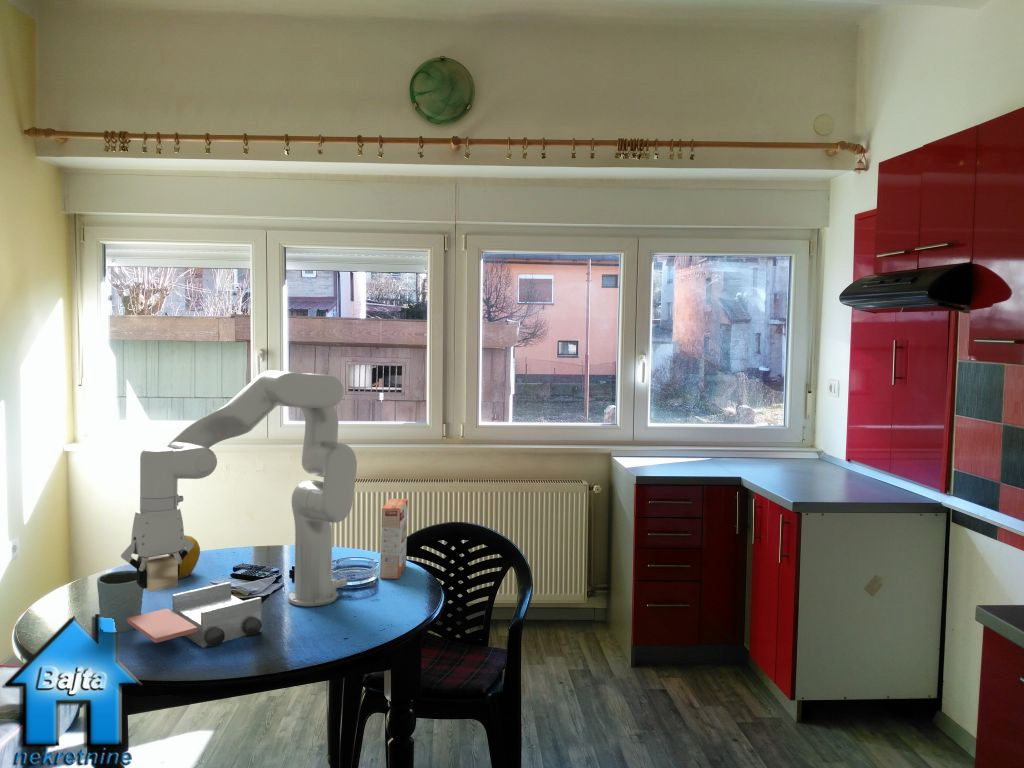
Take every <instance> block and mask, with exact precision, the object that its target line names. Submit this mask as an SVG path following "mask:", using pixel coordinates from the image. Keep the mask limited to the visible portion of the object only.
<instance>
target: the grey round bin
mask: <svg viewBox="0 0 1024 768" xmlns="http://www.w3.org/2000/svg"><path fill="white" fill-rule="evenodd" d="M96 584H97V585H96V586H97V594H98V608H99V610H98V611H99V618H100V617H104V618H112V619H114V622H115V628H116V631H117V632H120V633H125V632H130V631H133V630H136V629H135V628H134V627H133V626H131V625H130V624H129V623H127V618H129V617H133V616H138V615H142V609H143V608H142V607H143V597H144V590H145V589H143V588H141V587H140V586H139V585H138V584H137V570H119V571H118V570H117V571H111V572H108V573H107V572H106V573H103V574H102V575H99V576H98V577H97V579H96Z"/></svg>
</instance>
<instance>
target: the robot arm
mask: <svg viewBox="0 0 1024 768" xmlns="http://www.w3.org/2000/svg"><path fill="white" fill-rule="evenodd" d="M344 394H345V389H344V386H343V383H342V381H341V380H340V379H339V378H337V377H336V376H334V375H331V374H322V373H321V374H320V373H310V372H303V373H300V372H293V371H292V372H291V371H284V370H283V371H282V370H266V371H264V372H261V373H260V374H259V375H257V376H256V377H255V378H254V379H253V380H251V381H250V382H249V383H248V384H247V385H245V387H244V388H243V389H241V391H240V392H238V393H237V394H236V395H235V396H234V397H232V398H231V400H229V401H228V402H227V403H226V404H225V405H223V406H222V407H221V408H219V409H216V410H214V411H212V412H211V413H208V414H207V415H205V416H204V417H202V418H200V419H199V420H196V421H195V422H194V423H192V424H190V425H189V426H188V427H186V428H185V429H184V430H183V431H181V432H180V433H179V434H178V435H177V436H176V437H175V438H174V439H173V440H172V441H170V442H169V444H168V445H167V446H166V447H165V446H158V447H148V448H145V449H143V450H142V452H141V453H140V457H139V466H140V467H139V510H136V511H135V513H134V518H133V523H132V529H131V530H132V531H131V540H130V542H131V543H130V544H129V545H128V546H127V547H126V549H124V551H123V552H122V553H121V554H120V557H121V559H123V560H124V561H125V562H127V563H128V564H129V565H131V566H132V567H133V568H135V569H136V571H137V584H138V585H139V586H140V587H141V588H143V589H144V590H146V589H145V588H147V571H146V570H145V567H146V564H147V562H148V559H149V557H154V556H160V555H165V554H169V555H170V556H172V557H174V558H176V559H178V577H179V575H180V564H181V563H182V560H183V559H184V557H185V556H186V555H187V554H188V552H189V551H190V550H191V549H192V548H193V547H194V544H193V543H192V542H191V541H190V540H189V539H188V538H186V537H185V536H184V535H185V531H184V520H183V515H182V510H181V508H180V507H179V503H181V502H184V496H183V495H179V494H178V487H179V486H178V485H179V484H178V480H179V479H181V480H182V479H184V480H185V479H187V480H188V479H189V480H199V479H203V478H206V477H207V478H208V477H209V476H210V475H212V474H213V472H214V471H215V470H216V468H217V464H218V458H217V455H216V454H215V452H214V451H213V450H212V449H210V448H211V447H212V446H214V445H217V444H218V443H220V442H222V441H226V440H228V439H231V438H233V439H234V438H235V437H240V436H242V435H245V434H248V433H250V432H251V431H252V430H253V429H255V428H256V426H258V424H260V423H261V421H263V420H264V419H265V418H266V417H267V415H269V414H270V413H271V412H272V411H273V410H274V409H276V407H278V406H279V407H280V406H281V407H290V408H300V410H301V412H302V413H303V416H304V421H305V424H304V436H303V444H302V454H301V466H302V468H303V470H304V471H305V472H306V473H307V474H310V475H311V476H316V477H321V478H323V481H320V480H314V479H311V480H309V479H308V480H303V481H302V482H300V483H299V484H297V485H296V486H295V488H294V489H293V491H292V494H291V508H292V509H291V511H292V515H293V521H294V590H293V591H292V592H290V593H289V595H287V596H288V597H287V599H288V602H289V603H290V604H292V605H295V606H297V607H309V608H310V607H321V606H325V605H329V604H331V603H333V602H335V601H337V599H338V591H337V589H338V588H340V587H345V586H347V585H348V580H347V578H339V579H338V578H337V577H336V578H332V575H333V574H332V572H333V571H332V570H333V569H332V568H333V567H332V566H333V563H332V562H333V559H332V558H333V556H332V555H333V530H332V529H333V528H332V524H333V523H334V524H336V523H337V524H338V523H340V522H342V521H344V520H345V519H346V518H347V517H348V516H349V515H350V512H351V510H352V507H353V502H354V497H355V487H356V479H357V470H358V469H357V468H358V461H357V456H356V454H355V452H354V449H352V447H351V446H349V445H347V444H346V443H342V442H338V439H339V438H338V437H339V436H338V435H339V416H338V412H337V410H336V406H337V405H339V404H340V403H341V402H342V401H343V400H342V399H343V398H344ZM132 554H134V555H137V558H136V559H135V558H134V557H133V556H132Z"/></svg>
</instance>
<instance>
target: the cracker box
mask: <svg viewBox="0 0 1024 768" xmlns="http://www.w3.org/2000/svg"><path fill="white" fill-rule="evenodd" d="M408 503H409V499H407V498H390V499H388V501H387V502H386V503H384V504H385V505H384V506H383V507H382V508H381V523H380V524H381V525H380V527H381V533H380V563H379V564H380V565H379V566H380V567H379V568H380V569H379V579H384V580H385V579H387V580H388V579H389V580H399V579H400V577H401V575H402V574H403V572H404V569H405V567H406V565H407V543H408V542H407V540H408V538H407V537H408V535H407V534H408V511H409V510H408V507H409V505H408Z"/></svg>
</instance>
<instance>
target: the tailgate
mask: <svg viewBox="0 0 1024 768" xmlns="http://www.w3.org/2000/svg"><path fill="white" fill-rule="evenodd" d="M127 623H129V624H130V625H131V626H133V627H134V628H135V629H134V630H137V631H138V632H139V633H141V634H142V635H144V636H145V637H147V638H148V639H149V640H151V641H152V642H154V643H155V644H156V643H157V644H158V643H161V642H164V641H168V640H171V639H175V638H179V637H183V636H184V635H187V634H191V633H195V632H197V627H196V626H195V625H193V624H191V623H190V622H188V621H187V620H185V619H183V618H182V617H180V616H179V615H177V614H176V613H174V612H173V610H170V609H169V608H164V609H159V610H154V611H151V612H147V613H141V615H138V616H133V617H129V618H127Z"/></svg>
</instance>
